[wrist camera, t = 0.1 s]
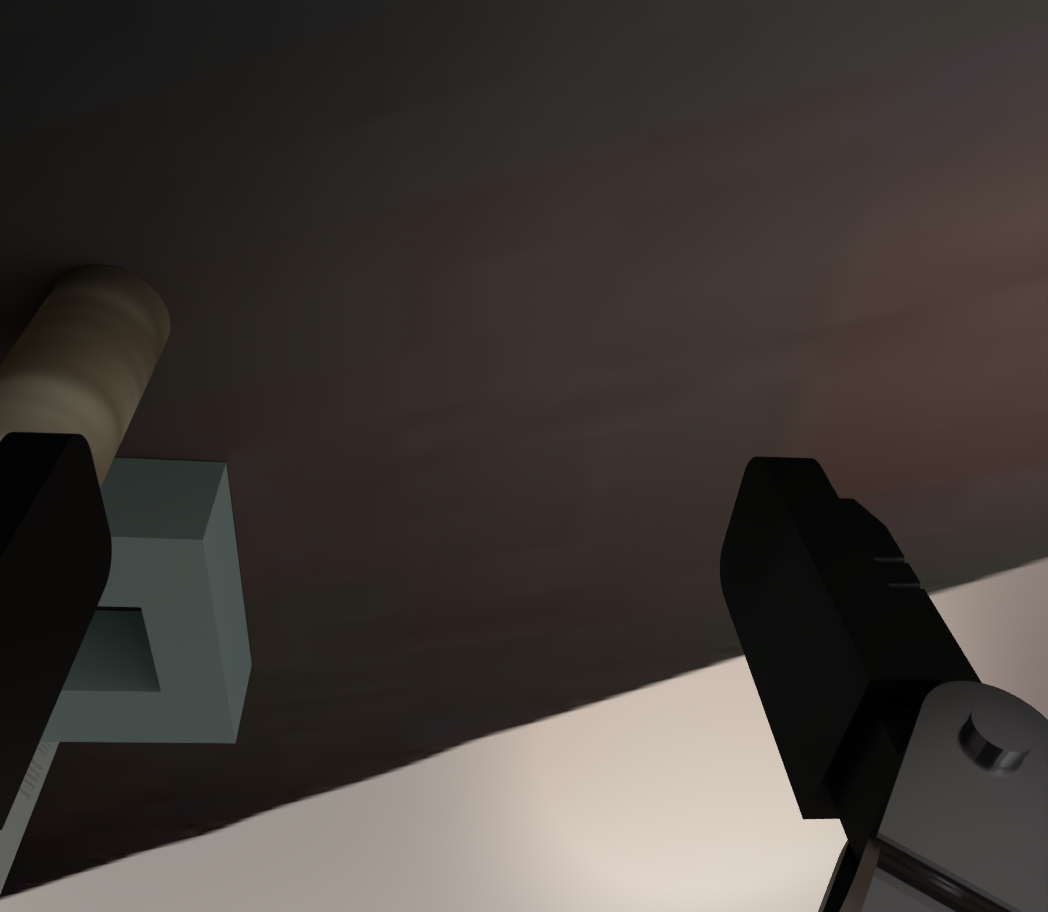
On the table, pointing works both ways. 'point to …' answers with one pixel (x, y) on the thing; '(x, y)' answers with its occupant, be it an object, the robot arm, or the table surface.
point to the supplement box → (24, 806)
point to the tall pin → (85, 360)
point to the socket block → (162, 615)
